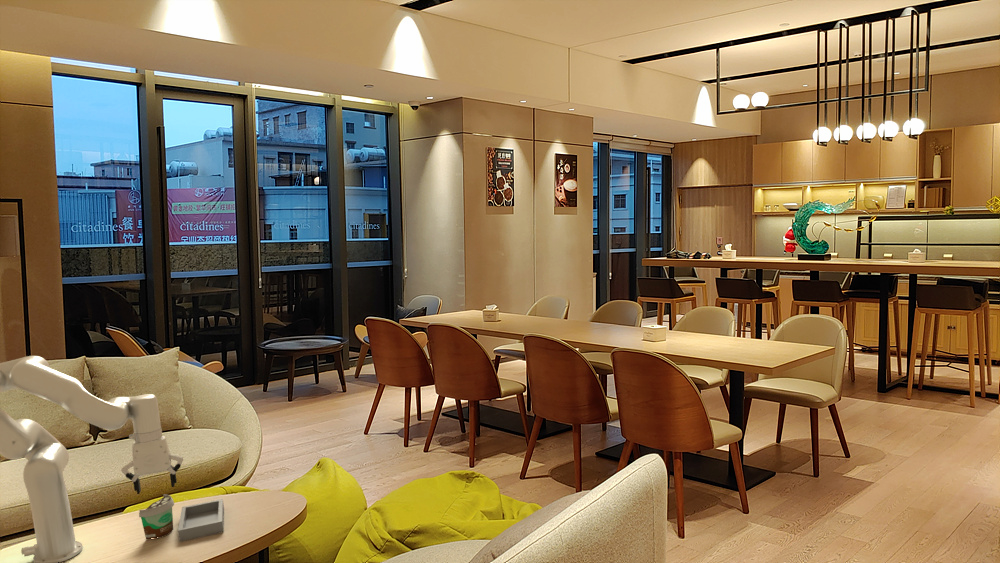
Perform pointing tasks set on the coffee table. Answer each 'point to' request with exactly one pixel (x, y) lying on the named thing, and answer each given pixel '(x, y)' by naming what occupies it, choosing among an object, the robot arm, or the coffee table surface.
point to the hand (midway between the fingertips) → (156, 489)
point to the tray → (201, 520)
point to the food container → (158, 518)
